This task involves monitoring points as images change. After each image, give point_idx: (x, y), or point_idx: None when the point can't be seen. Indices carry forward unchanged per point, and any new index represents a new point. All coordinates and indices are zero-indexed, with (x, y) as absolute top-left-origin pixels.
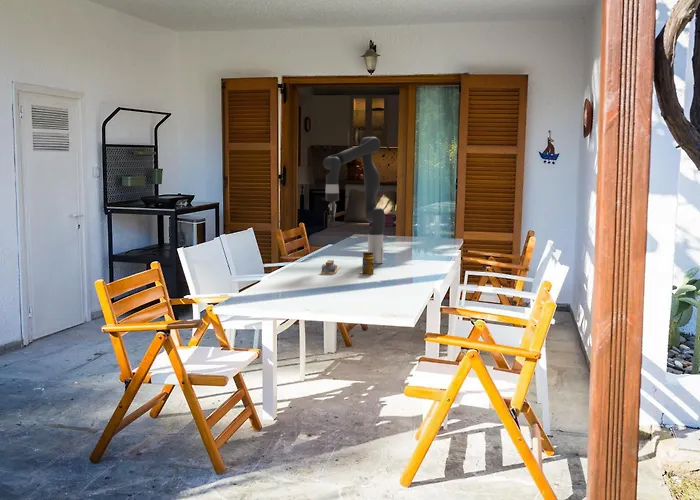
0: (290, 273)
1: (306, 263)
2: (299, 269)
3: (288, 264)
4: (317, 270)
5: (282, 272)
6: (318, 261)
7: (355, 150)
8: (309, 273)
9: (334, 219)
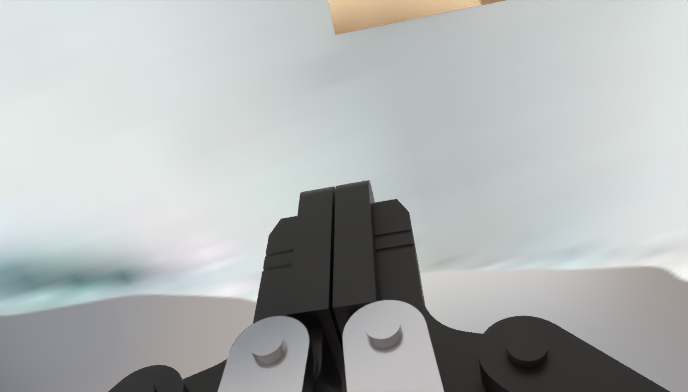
0: (659, 181)
1: (194, 230)
2: (472, 186)
3: None
4: (500, 49)
5: (615, 236)
6: (62, 190)
7: None
8: (663, 58)
9: (319, 235)
